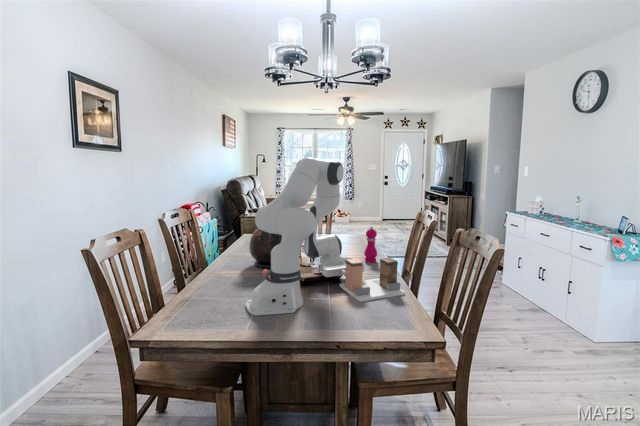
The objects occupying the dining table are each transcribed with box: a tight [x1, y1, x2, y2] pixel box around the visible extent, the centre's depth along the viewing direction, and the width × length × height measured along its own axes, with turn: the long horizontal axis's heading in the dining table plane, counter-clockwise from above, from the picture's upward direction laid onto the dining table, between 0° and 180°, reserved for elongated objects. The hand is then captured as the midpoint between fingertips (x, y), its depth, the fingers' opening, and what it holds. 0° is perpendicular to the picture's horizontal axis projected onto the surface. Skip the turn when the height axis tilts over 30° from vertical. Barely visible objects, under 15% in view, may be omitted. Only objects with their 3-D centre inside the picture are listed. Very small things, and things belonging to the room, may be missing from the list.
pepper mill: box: [363, 226, 378, 264], centre depth 200 cm, size 7×7×20 cm
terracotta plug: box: [345, 258, 364, 290], centre depth 155 cm, size 5×6×12 cm
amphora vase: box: [248, 227, 282, 270], centre depth 191 cm, size 22×22×28 cm
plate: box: [339, 277, 406, 303], centre depth 157 cm, size 22×19×4 cm
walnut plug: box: [379, 257, 399, 288], centre depth 157 cm, size 5×6×12 cm
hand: (350, 274), depth 158 cm, fingers closed, pressing on terracotta plug
